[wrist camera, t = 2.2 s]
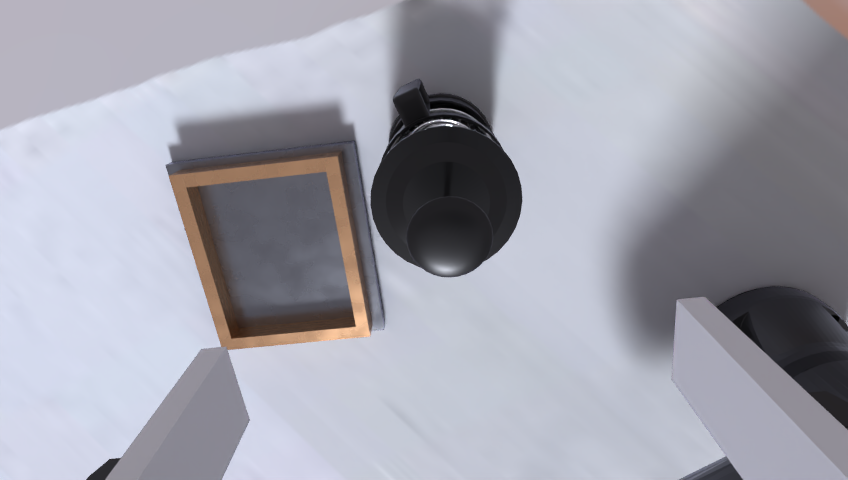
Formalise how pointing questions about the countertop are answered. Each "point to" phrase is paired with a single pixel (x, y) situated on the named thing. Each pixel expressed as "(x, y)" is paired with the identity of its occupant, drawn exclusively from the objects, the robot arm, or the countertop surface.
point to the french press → (444, 185)
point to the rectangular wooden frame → (281, 244)
